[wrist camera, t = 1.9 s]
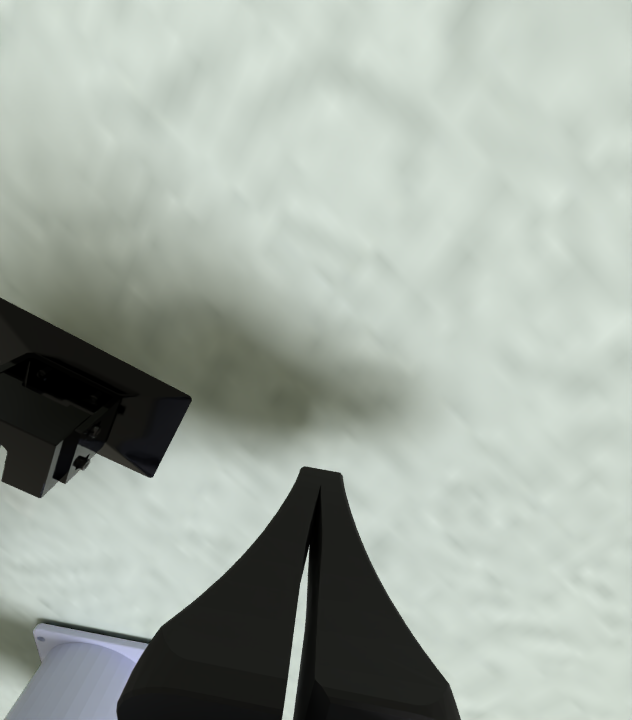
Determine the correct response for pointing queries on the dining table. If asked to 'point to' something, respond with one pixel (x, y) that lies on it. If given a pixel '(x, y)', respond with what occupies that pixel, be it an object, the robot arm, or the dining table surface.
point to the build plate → (75, 406)
